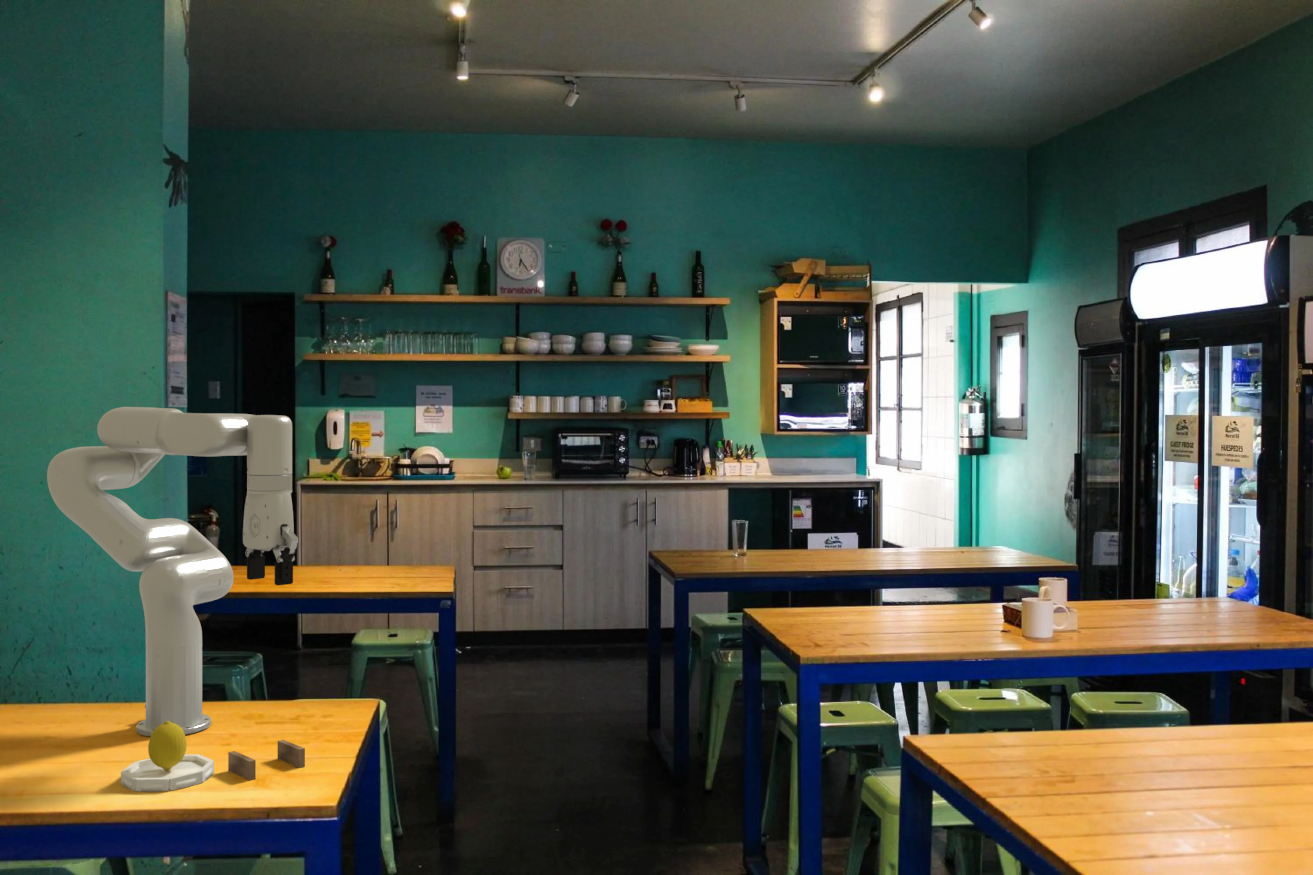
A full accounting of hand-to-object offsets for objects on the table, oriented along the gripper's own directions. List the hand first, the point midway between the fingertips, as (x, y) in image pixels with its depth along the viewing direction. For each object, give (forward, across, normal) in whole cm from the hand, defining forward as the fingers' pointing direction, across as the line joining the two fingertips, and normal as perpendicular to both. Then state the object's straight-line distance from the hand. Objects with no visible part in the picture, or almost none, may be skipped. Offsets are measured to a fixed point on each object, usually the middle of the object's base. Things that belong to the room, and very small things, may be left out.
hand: (269, 581), depth 194 cm
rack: (+28, +14, -8) cm, 33 cm away
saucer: (+28, +7, -21) cm, 36 cm away
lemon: (+28, +7, -21) cm, 35 cm away
